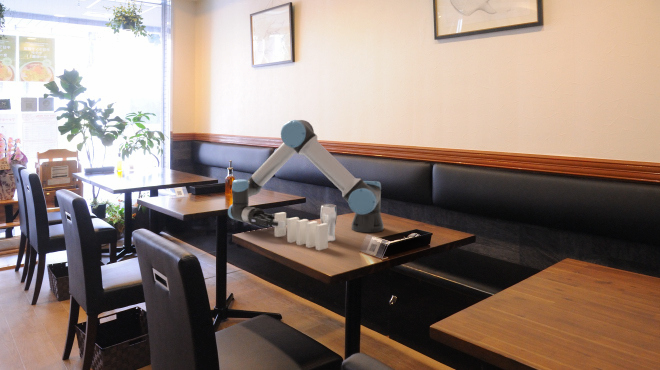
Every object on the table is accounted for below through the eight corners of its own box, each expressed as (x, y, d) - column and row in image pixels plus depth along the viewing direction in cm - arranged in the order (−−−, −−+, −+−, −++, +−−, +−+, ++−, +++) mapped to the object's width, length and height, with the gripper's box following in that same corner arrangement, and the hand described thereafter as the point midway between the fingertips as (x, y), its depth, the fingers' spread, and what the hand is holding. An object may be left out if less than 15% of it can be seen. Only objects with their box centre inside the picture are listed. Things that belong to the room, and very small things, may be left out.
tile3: (296, 244, 203) (296, 220, 201) (304, 242, 206) (304, 219, 205) (299, 245, 201) (299, 221, 200) (308, 242, 205) (308, 219, 204)
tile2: (287, 241, 206) (287, 218, 205) (295, 239, 210) (295, 217, 209) (290, 242, 205) (290, 219, 204) (299, 240, 209) (299, 217, 207)
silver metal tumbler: (339, 239, 212) (339, 205, 210) (331, 242, 206) (331, 207, 204) (325, 236, 215) (326, 203, 213) (317, 240, 209) (317, 206, 207)
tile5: (315, 249, 195) (315, 225, 194) (324, 246, 199) (324, 223, 198) (319, 250, 194) (319, 225, 193) (327, 247, 198) (327, 223, 196)
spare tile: (274, 236, 211) (274, 213, 210) (283, 234, 215) (283, 212, 214) (277, 237, 210) (277, 214, 209) (286, 234, 214) (286, 212, 212)
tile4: (305, 246, 199) (305, 222, 198) (314, 244, 203) (314, 221, 201) (309, 247, 198) (309, 223, 196) (317, 245, 201) (317, 221, 200)
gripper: (268, 220, 231) (303, 229, 215) (238, 227, 217) (273, 236, 202) (268, 205, 230) (303, 212, 214) (237, 210, 216) (273, 218, 201)
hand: (288, 224), depth 208 cm, fingers closed on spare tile, 5 cm apart
